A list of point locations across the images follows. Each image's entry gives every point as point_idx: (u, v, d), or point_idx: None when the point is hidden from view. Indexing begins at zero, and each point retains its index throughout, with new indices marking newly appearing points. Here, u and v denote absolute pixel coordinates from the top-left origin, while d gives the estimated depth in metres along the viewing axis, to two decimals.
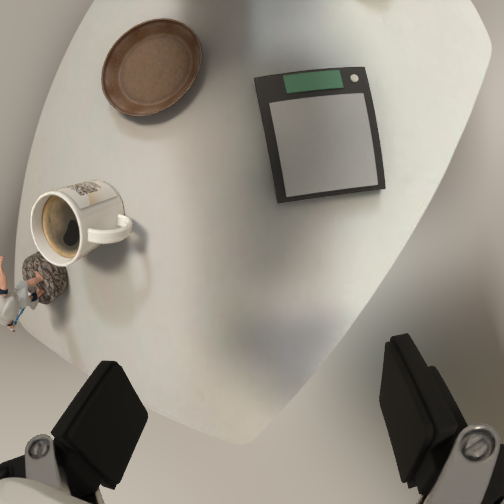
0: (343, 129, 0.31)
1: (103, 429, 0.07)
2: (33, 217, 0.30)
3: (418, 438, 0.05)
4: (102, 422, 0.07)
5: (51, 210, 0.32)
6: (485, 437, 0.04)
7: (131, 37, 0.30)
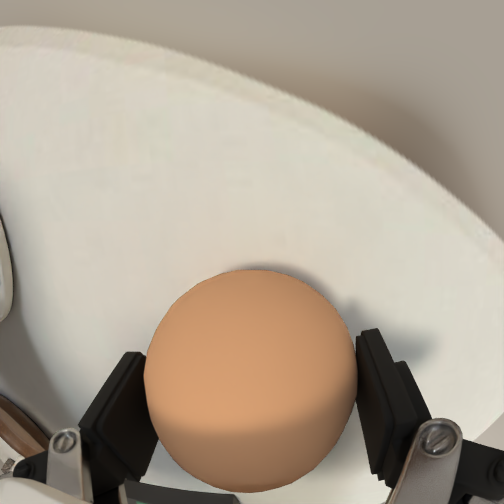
0: None
1: (130, 420, 0.08)
2: None
3: (380, 429, 0.06)
4: (129, 413, 0.08)
5: None
6: (445, 431, 0.04)
7: None
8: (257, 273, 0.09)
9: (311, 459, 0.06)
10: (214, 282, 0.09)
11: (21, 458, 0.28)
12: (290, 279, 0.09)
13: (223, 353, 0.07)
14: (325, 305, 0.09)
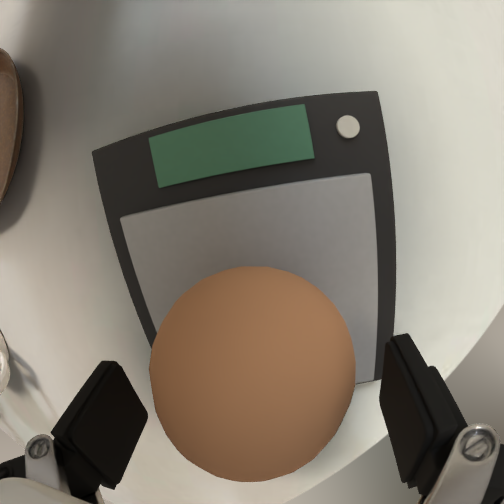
0: None
1: (103, 429, 0.07)
2: None
3: (418, 438, 0.05)
4: (102, 422, 0.07)
5: None
6: (485, 437, 0.04)
7: None
8: (258, 269, 0.10)
9: (311, 448, 0.06)
10: (217, 278, 0.09)
11: None
12: (290, 275, 0.10)
13: (227, 343, 0.07)
14: (324, 300, 0.09)
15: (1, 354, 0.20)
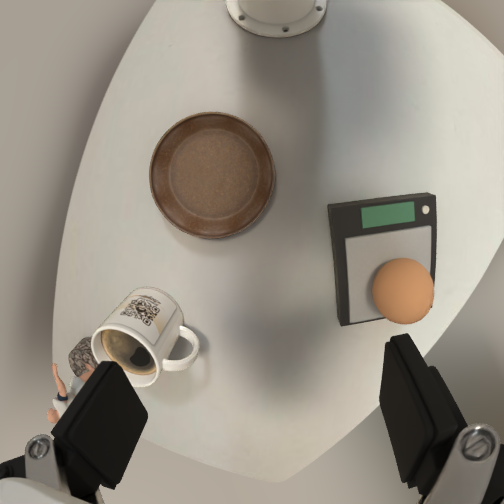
0: None
1: (103, 429, 0.07)
2: (94, 342, 0.32)
3: (418, 438, 0.05)
4: (102, 422, 0.07)
5: (113, 334, 0.33)
6: (485, 437, 0.04)
7: (181, 129, 0.32)
8: (407, 258, 0.30)
9: (430, 303, 0.26)
10: (399, 261, 0.29)
11: (138, 289, 0.40)
12: (414, 260, 0.29)
13: (413, 275, 0.27)
14: (424, 267, 0.29)
15: (187, 328, 0.40)
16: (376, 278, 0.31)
